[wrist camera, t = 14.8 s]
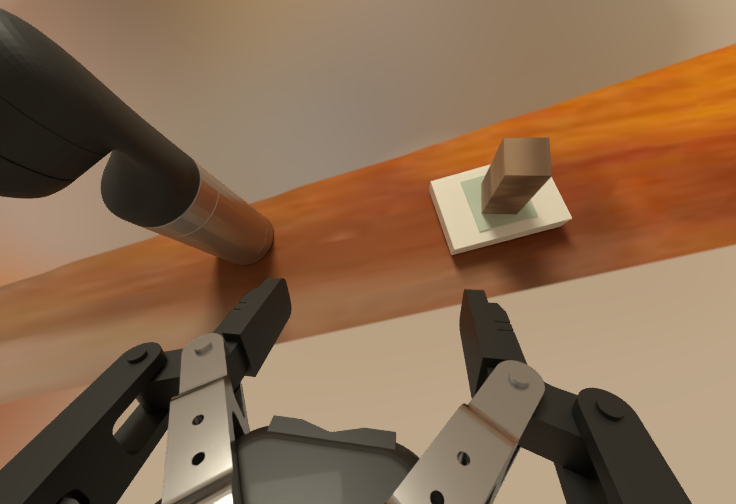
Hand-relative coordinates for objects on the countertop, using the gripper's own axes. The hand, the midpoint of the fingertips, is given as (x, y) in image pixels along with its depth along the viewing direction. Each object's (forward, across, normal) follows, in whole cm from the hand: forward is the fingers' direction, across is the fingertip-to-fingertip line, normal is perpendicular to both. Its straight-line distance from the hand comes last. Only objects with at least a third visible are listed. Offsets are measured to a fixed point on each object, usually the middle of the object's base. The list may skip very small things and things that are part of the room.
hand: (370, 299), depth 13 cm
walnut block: (+31, -14, +6) cm, 34 cm away
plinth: (+33, -13, +8) cm, 36 cm away
